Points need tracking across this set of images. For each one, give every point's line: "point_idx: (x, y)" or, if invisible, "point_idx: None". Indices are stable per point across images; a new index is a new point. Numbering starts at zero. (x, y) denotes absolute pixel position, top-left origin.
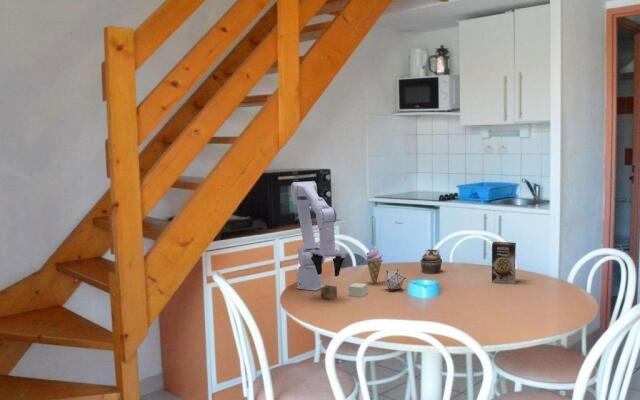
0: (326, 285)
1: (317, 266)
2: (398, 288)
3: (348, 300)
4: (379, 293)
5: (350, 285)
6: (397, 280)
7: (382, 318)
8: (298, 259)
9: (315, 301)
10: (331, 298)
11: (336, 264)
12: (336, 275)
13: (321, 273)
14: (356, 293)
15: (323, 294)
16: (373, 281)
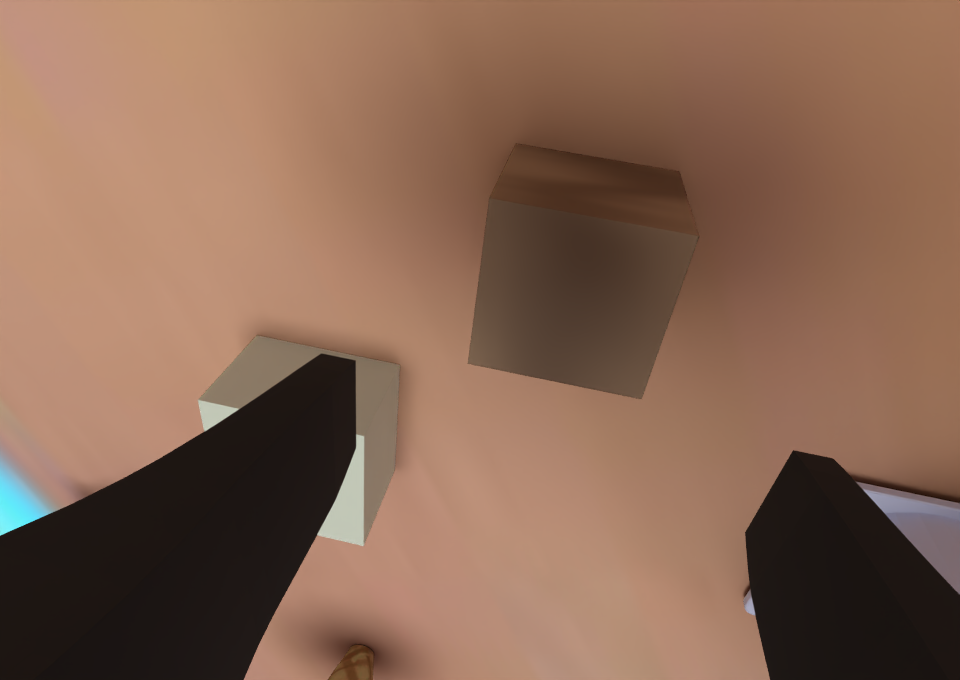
0: (637, 387)
1: (920, 640)
2: None
3: (318, 200)
4: None
5: (357, 463)
6: None
7: None
8: None
9: (741, 36)
10: (511, 157)
11: (22, 555)
12: (308, 363)
13: (748, 529)
14: (296, 367)
15: (639, 188)
16: (354, 663)
